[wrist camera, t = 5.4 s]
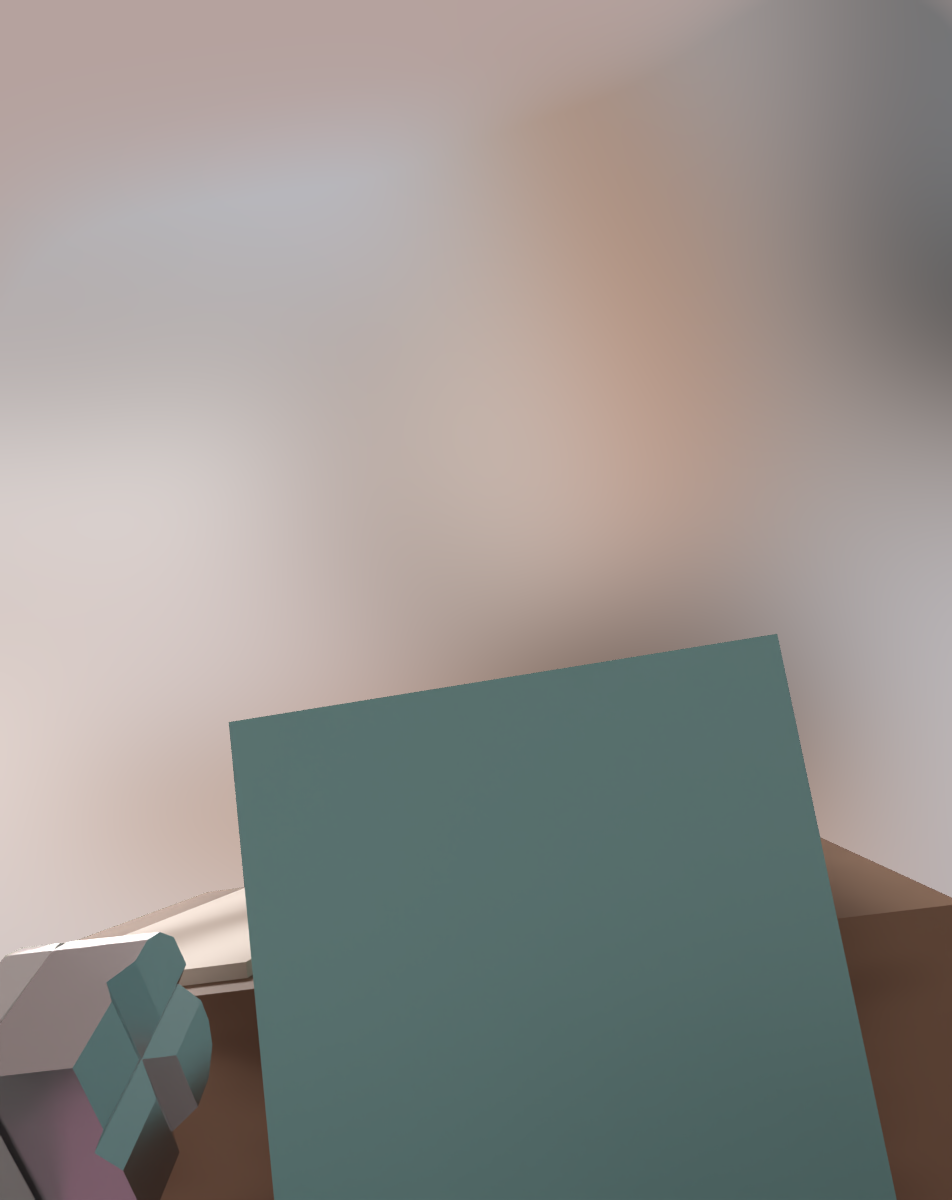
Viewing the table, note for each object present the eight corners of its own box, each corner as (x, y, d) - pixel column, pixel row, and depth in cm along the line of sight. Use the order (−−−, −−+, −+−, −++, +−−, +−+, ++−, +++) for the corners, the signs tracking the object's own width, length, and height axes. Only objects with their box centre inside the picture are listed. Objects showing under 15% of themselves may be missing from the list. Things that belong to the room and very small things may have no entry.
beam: (285, 1323, 6) (229, 723, 7) (552, 851, 31) (534, 738, 32) (913, 1282, 5) (777, 633, 6) (665, 836, 31) (645, 721, 31)
